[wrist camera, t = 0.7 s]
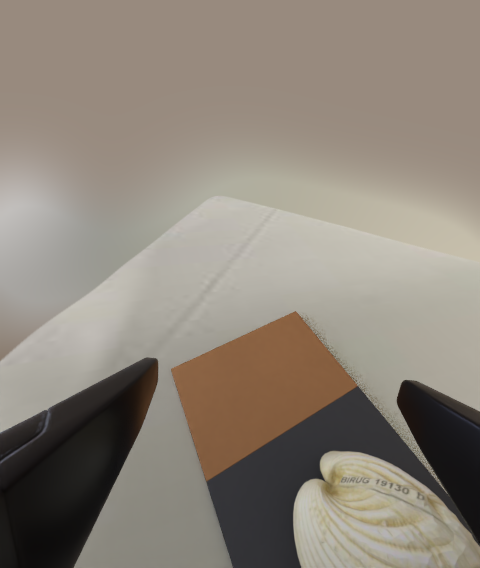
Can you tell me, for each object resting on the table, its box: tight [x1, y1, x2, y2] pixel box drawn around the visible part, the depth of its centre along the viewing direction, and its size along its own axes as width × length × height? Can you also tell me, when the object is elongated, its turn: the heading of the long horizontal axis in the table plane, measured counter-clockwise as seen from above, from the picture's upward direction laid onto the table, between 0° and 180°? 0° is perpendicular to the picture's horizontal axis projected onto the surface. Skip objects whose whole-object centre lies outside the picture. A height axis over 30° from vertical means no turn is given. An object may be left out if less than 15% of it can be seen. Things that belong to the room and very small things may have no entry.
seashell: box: [293, 451, 480, 568], centre depth 13 cm, size 8×8×8 cm
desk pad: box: [171, 311, 480, 568], centre depth 17 cm, size 22×14×1 cm, turn 27°
